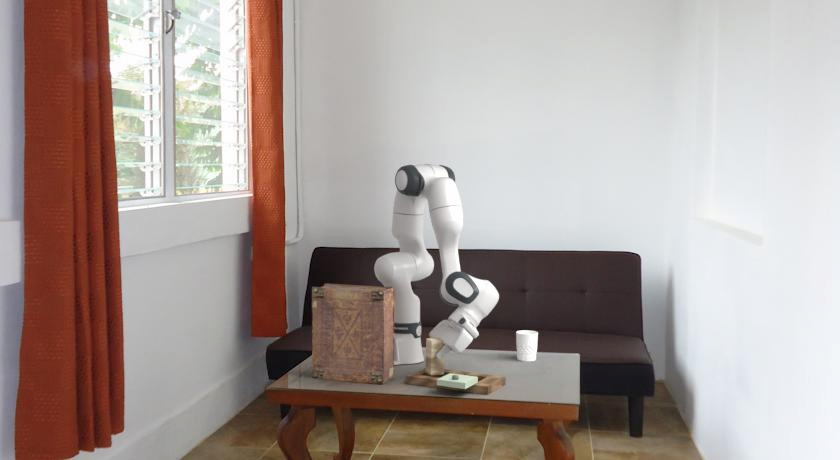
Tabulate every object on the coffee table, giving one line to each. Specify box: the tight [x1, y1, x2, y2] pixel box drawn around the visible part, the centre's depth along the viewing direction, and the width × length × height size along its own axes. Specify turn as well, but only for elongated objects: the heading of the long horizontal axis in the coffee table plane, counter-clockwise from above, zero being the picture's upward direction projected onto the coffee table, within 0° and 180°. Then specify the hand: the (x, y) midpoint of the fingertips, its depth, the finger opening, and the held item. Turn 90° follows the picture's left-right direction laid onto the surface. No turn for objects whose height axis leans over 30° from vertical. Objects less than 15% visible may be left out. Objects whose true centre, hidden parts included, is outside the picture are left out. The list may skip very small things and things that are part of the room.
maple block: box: [425, 337, 445, 375], centre depth 275 cm, size 4×4×11 cm
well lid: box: [437, 373, 478, 389], centre depth 261 cm, size 10×9×3 cm
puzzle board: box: [406, 367, 507, 396], centre depth 272 cm, size 28×14×2 cm, turn 62°
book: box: [311, 283, 395, 385], centre depth 278 cm, size 25×9×30 cm, turn 70°
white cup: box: [515, 329, 539, 363], centre depth 307 cm, size 8×8×10 cm
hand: (433, 355), depth 274 cm, fingers closed on maple block, 4 cm apart
